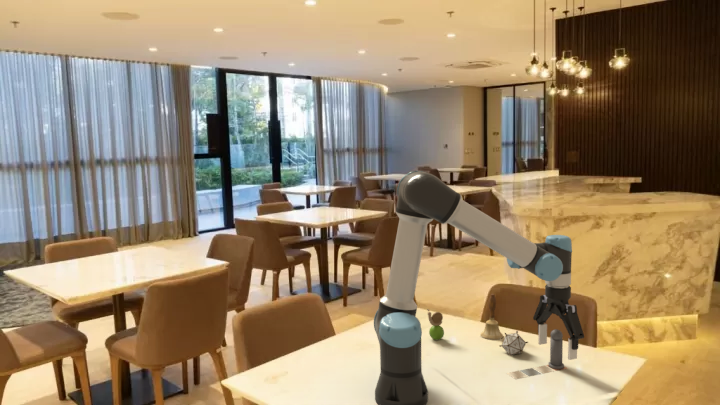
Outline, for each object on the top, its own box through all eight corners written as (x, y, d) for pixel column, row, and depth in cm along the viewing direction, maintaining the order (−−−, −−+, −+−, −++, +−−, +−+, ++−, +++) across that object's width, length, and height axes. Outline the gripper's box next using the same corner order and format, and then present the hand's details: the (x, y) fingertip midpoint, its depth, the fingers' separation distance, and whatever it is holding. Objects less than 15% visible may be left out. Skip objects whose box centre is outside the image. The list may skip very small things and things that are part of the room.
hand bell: (501, 332, 205) (502, 291, 204) (504, 340, 197) (504, 297, 196) (479, 331, 207) (479, 291, 205) (481, 339, 198) (481, 297, 197)
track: (515, 384, 161) (515, 381, 161) (501, 375, 168) (501, 372, 168) (572, 372, 168) (572, 369, 168) (556, 364, 175) (556, 361, 175)
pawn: (555, 370, 168) (555, 333, 166) (545, 364, 172) (545, 328, 171) (567, 367, 169) (567, 330, 168) (557, 362, 174) (557, 326, 172)
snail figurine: (424, 338, 200) (423, 307, 199) (438, 335, 203) (438, 304, 202) (432, 343, 196) (431, 311, 194) (447, 340, 198) (446, 308, 197)
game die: (518, 367, 182) (530, 351, 176) (494, 357, 183) (505, 341, 177) (521, 346, 189) (532, 330, 182) (498, 337, 190) (508, 321, 183)
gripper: (598, 293, 157) (596, 363, 160) (541, 275, 181) (540, 336, 183) (577, 296, 155) (576, 367, 157) (522, 277, 178) (522, 339, 180)
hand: (557, 351), depth 170 cm, fingers open, 13 cm apart
